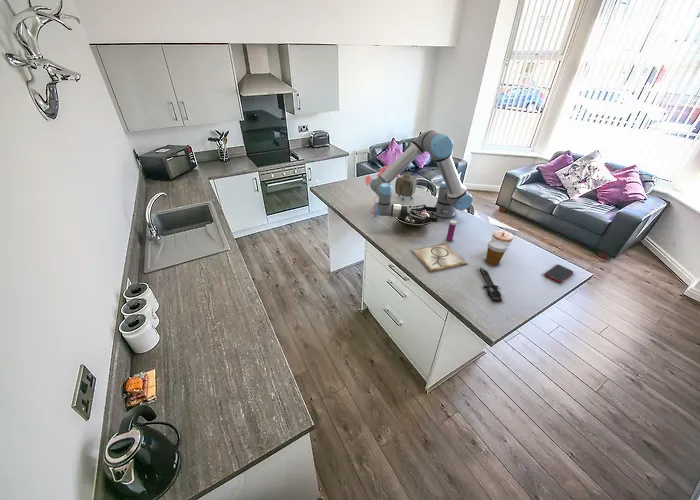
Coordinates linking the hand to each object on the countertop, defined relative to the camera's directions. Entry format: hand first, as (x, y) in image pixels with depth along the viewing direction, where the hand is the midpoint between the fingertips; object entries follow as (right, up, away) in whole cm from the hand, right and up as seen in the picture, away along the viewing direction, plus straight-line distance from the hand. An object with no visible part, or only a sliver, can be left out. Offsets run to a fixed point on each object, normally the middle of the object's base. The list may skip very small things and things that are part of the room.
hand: (437, 214), depth 168 cm
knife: (+17, -37, -26) cm, 49 cm away
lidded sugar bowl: (+37, -19, +1) cm, 42 cm away
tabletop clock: (-8, +19, +58) cm, 62 cm away
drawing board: (-2, -25, -8) cm, 26 cm away
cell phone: (+56, -33, -20) cm, 68 cm away
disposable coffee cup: (+26, -28, -12) cm, 40 cm away
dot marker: (+10, -15, +7) cm, 19 cm away
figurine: (-27, +4, +36) cm, 46 cm away
